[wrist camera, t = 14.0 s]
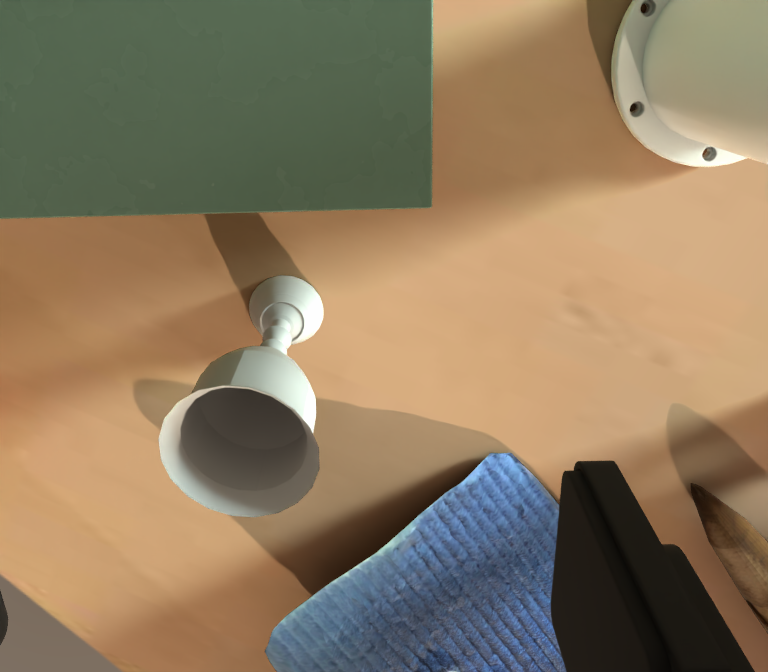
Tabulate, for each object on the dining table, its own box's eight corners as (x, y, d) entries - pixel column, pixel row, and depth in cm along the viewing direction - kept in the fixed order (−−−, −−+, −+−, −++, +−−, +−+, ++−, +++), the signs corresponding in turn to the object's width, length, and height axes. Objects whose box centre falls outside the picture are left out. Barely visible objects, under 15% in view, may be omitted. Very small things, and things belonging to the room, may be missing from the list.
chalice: (216, 325, 49) (134, 475, 32) (259, 242, 47) (195, 357, 30) (310, 373, 50) (278, 539, 34) (357, 295, 48) (347, 431, 32)
